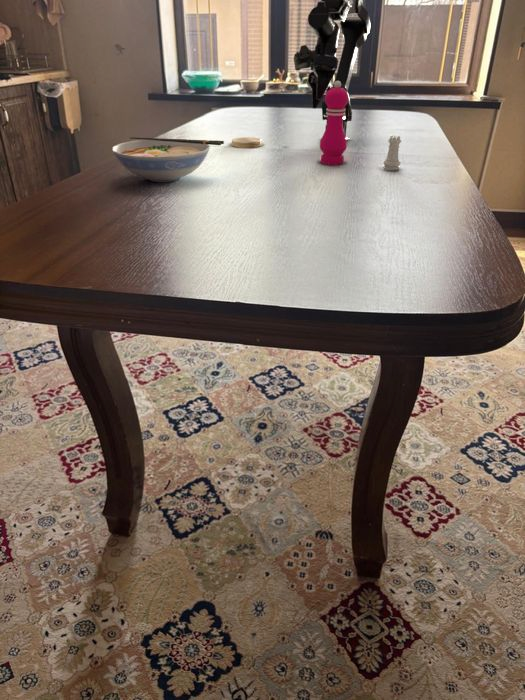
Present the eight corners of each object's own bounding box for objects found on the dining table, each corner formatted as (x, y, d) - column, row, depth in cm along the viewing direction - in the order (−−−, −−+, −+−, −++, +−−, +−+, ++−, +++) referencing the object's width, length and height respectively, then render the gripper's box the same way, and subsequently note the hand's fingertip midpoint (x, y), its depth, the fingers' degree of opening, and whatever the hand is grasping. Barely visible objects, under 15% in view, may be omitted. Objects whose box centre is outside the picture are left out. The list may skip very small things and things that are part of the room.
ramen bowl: (92, 185, 121) (86, 147, 116) (144, 165, 139) (140, 132, 135) (189, 195, 113) (186, 156, 109) (230, 173, 132) (229, 138, 127)
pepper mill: (315, 164, 141) (320, 81, 131) (323, 158, 147) (328, 79, 136) (341, 166, 139) (348, 82, 128) (348, 161, 144) (355, 80, 134)
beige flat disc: (250, 141, 170) (250, 136, 170) (267, 145, 164) (267, 140, 163) (225, 144, 165) (225, 139, 165) (242, 148, 159) (242, 143, 158)
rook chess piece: (401, 168, 137) (405, 135, 133) (397, 171, 134) (402, 138, 129) (384, 166, 139) (388, 134, 134) (380, 170, 135) (384, 137, 131)
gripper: (295, 52, 155) (286, 107, 158) (302, 25, 137) (291, 88, 140) (331, 59, 156) (321, 114, 159) (343, 34, 138) (332, 96, 140)
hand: (316, 103), depth 149 cm, fingers open, 9 cm apart
